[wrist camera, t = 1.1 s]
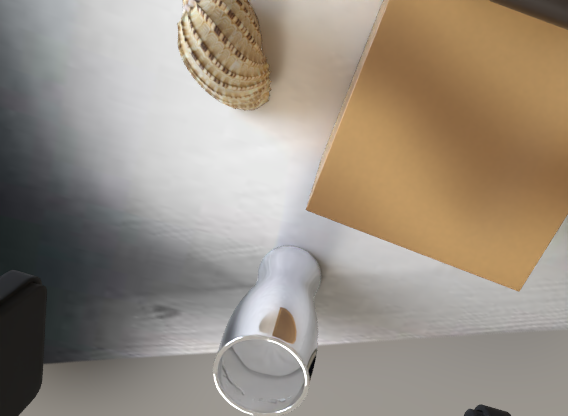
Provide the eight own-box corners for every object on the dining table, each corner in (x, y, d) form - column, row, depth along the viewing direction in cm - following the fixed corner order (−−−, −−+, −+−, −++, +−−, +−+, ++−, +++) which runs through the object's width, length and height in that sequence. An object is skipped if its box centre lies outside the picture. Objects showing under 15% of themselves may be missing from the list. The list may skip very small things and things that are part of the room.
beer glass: (246, 292, 46) (199, 399, 32) (265, 231, 44) (223, 318, 30) (313, 315, 46) (294, 433, 32) (336, 254, 43) (327, 354, 29)
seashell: (296, 43, 40) (207, -48, 35) (311, 68, 36) (210, -32, 30) (236, 105, 43) (145, 29, 38) (243, 136, 38) (139, 55, 33)
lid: (422, -87, 23) (442, -127, 18) (685, 10, 23) (788, -1, 17) (307, 206, 29) (296, 242, 24) (515, 285, 29) (552, 341, 23)
